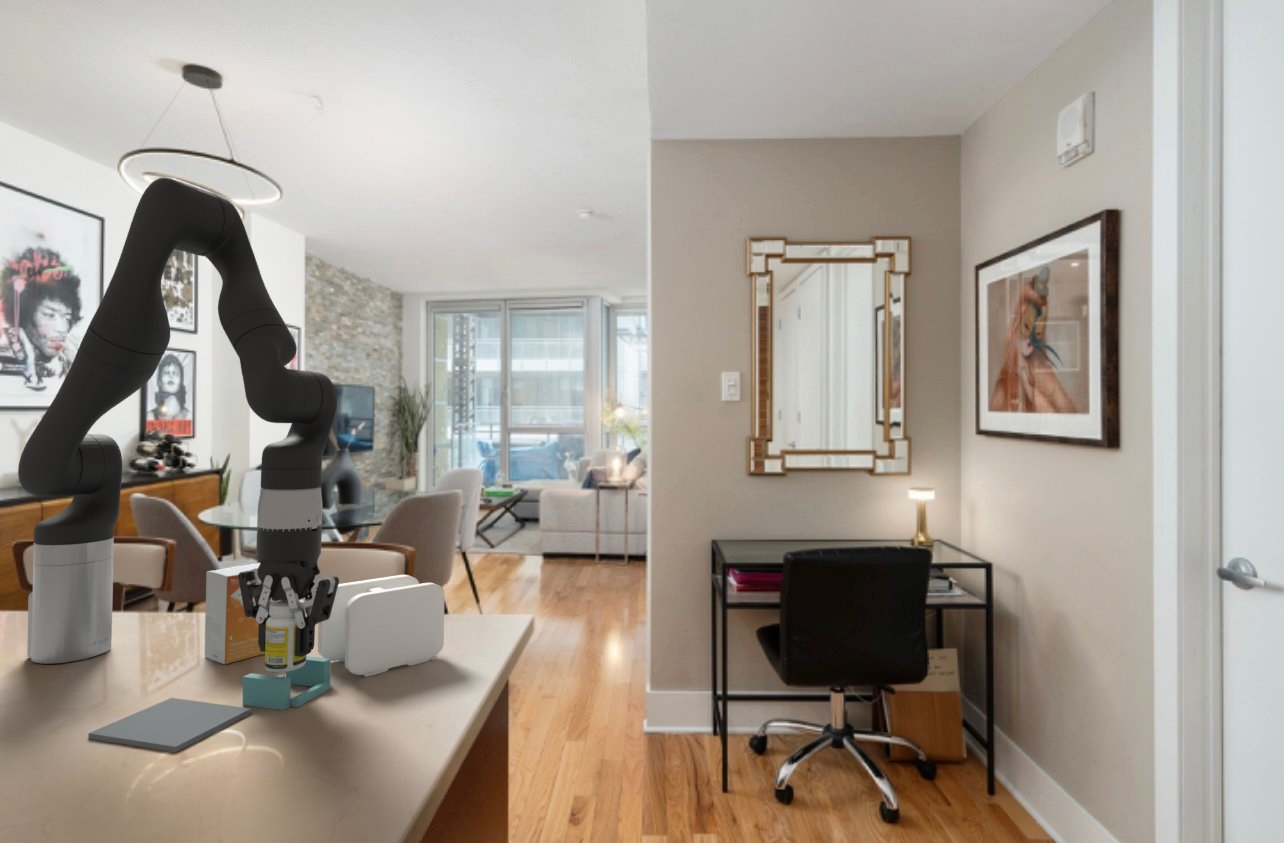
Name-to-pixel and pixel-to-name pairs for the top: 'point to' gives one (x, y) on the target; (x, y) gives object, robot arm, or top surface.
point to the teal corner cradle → (287, 685)
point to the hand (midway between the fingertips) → (286, 651)
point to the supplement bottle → (281, 639)
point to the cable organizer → (383, 624)
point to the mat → (170, 724)
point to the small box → (228, 618)
